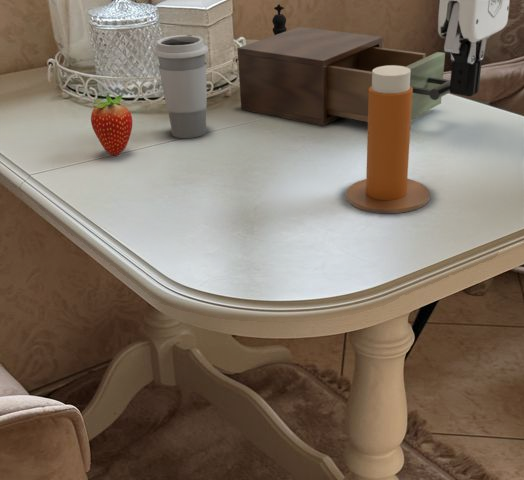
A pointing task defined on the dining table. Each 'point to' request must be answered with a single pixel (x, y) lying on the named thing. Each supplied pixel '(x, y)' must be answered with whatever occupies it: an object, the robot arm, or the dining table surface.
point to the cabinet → (295, 71)
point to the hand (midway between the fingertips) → (463, 92)
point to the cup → (184, 83)
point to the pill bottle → (388, 132)
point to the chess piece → (279, 21)
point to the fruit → (112, 124)
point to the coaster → (411, 201)
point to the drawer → (360, 80)
